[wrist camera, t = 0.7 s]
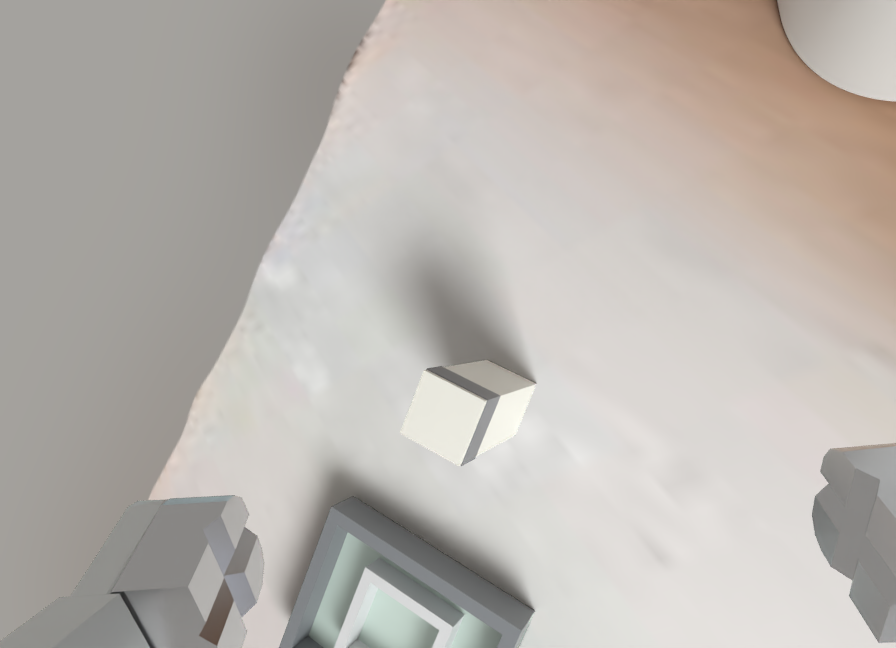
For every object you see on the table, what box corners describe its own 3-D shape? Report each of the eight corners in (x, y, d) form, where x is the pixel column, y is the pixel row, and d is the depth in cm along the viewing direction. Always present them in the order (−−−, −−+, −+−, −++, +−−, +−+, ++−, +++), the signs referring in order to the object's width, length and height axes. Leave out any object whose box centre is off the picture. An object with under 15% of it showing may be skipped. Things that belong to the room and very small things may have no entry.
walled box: (353, 496, 49) (331, 506, 46) (534, 611, 43) (521, 630, 40) (301, 634, 51) (277, 652, 49) (467, 762, 45) (450, 790, 43)
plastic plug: (486, 358, 45) (423, 369, 35) (537, 383, 43) (485, 400, 34) (465, 410, 45) (398, 433, 36) (515, 436, 44) (458, 467, 35)
